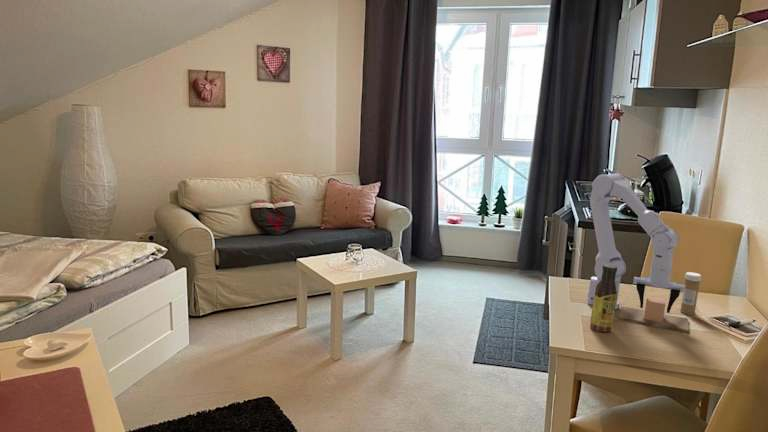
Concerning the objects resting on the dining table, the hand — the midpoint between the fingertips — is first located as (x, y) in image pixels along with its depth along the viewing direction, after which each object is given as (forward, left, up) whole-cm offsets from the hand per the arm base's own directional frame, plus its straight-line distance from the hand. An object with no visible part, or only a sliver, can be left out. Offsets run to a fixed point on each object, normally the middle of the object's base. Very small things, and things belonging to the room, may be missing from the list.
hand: (654, 309), depth 187 cm
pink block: (0, 0, -3) cm, 3 cm away
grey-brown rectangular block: (0, 0, -4) cm, 4 cm away
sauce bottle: (-14, -17, -4) cm, 22 cm away
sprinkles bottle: (+10, +14, -4) cm, 18 cm away
